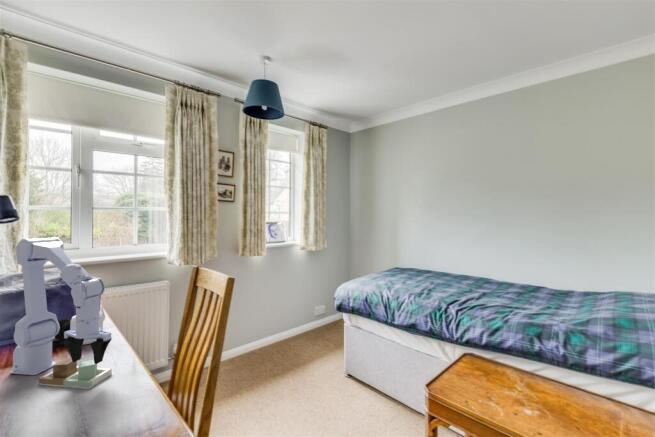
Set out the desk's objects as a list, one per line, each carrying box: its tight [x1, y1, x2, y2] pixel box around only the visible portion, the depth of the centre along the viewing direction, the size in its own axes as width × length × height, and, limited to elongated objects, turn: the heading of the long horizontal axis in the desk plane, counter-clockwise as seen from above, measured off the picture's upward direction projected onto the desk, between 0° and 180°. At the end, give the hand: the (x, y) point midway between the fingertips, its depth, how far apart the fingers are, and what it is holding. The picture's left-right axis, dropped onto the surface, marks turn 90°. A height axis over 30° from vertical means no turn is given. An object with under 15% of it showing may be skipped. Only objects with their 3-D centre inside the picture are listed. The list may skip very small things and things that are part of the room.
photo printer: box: [70, 311, 104, 346], centre depth 118 cm, size 10×4×12 cm, turn 129°
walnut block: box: [52, 357, 78, 378], centre depth 92 cm, size 4×4×5 cm
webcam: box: [52, 318, 71, 349], centre depth 117 cm, size 8×8×10 cm
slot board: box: [38, 365, 113, 390], centre depth 92 cm, size 17×8×2 cm, turn 83°
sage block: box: [78, 359, 98, 380], centre depth 91 cm, size 4×4×5 cm
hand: (87, 361), depth 91 cm, fingers open, 7 cm apart
